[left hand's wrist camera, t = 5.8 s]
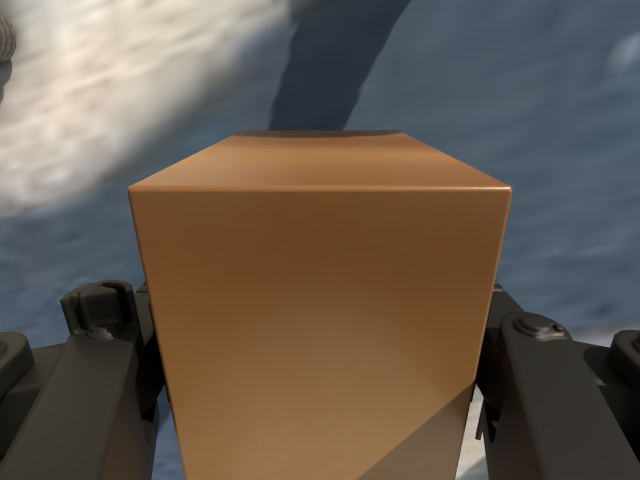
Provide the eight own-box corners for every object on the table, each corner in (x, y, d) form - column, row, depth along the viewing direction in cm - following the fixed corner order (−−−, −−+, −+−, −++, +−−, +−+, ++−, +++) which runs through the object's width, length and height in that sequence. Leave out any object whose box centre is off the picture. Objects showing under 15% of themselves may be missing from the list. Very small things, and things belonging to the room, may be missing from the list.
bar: (240, 130, 13) (123, 186, 5) (400, 129, 13) (516, 186, 5) (271, 532, 22) (244, 779, 14) (368, 532, 22) (395, 779, 14)
